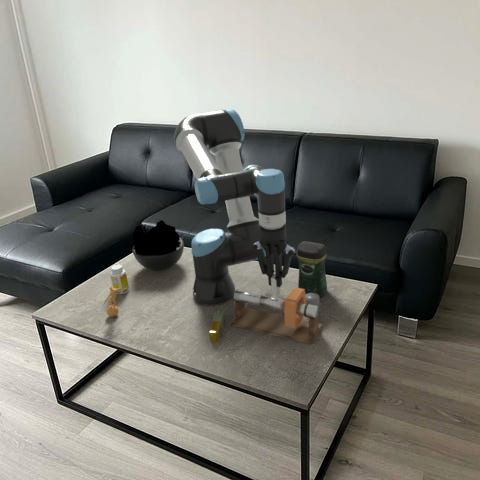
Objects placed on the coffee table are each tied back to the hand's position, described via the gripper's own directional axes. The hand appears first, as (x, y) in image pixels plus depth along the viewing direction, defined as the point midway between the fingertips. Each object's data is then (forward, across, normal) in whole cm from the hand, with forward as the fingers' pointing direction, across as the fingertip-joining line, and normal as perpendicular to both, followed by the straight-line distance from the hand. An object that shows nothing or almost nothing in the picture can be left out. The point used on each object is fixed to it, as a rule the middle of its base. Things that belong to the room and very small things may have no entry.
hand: (275, 294), depth 146 cm
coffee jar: (+12, +4, +22) cm, 26 cm away
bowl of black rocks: (+13, -58, +20) cm, 63 cm away
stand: (+12, 0, -1) cm, 12 cm away
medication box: (+12, -17, -9) cm, 22 cm away
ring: (+8, +6, -1) cm, 10 cm away
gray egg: (+12, +8, +10) cm, 17 cm away
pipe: (+5, 0, -1) cm, 5 cm away
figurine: (+12, -54, -14) cm, 57 cm away
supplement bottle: (+13, -62, 0) cm, 63 cm away
